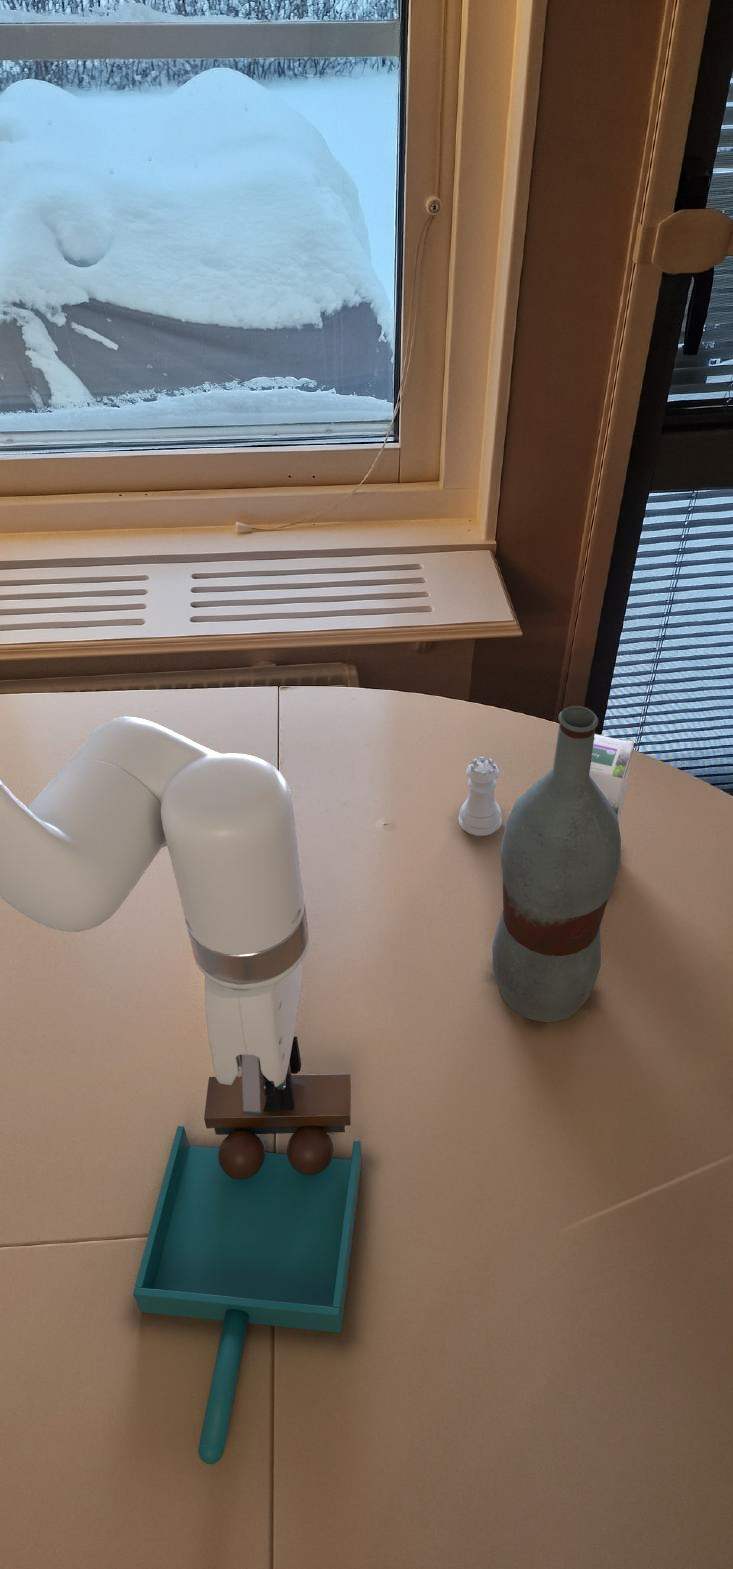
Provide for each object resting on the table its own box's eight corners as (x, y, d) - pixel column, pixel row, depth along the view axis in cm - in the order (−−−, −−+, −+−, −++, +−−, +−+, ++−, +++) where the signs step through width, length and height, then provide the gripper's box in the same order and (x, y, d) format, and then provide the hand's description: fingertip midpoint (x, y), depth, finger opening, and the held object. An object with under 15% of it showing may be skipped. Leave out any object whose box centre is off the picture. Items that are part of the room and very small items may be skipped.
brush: (208, 1138, 80) (190, 1065, 73) (213, 1097, 82) (196, 1022, 76) (351, 1136, 80) (346, 1062, 73) (351, 1094, 82) (346, 1019, 76)
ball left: (212, 1178, 76) (219, 1128, 77) (217, 1174, 79) (224, 1127, 80) (260, 1183, 76) (266, 1133, 77) (262, 1180, 79) (269, 1132, 80)
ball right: (281, 1159, 76) (292, 1114, 78) (282, 1177, 79) (292, 1133, 81) (328, 1168, 76) (337, 1123, 78) (328, 1186, 78) (336, 1141, 81)
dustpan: (183, 1145, 81) (177, 1125, 79) (361, 1161, 79) (360, 1140, 77) (103, 1458, 65) (92, 1443, 63) (323, 1484, 64) (320, 1469, 62)
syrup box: (544, 877, 101) (558, 764, 91) (559, 837, 105) (573, 725, 95) (602, 892, 99) (623, 779, 89) (615, 850, 103) (636, 738, 93)
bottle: (471, 961, 93) (488, 695, 73) (560, 930, 96) (600, 664, 76) (521, 1043, 87) (554, 775, 67) (615, 1007, 89) (674, 739, 69)
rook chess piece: (461, 806, 109) (463, 747, 103) (503, 811, 108) (508, 752, 102) (455, 835, 105) (457, 776, 100) (499, 841, 105) (503, 782, 99)
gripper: (216, 837, 72) (247, 997, 85) (160, 1031, 60) (206, 1185, 73) (322, 841, 72) (338, 1002, 84) (287, 1038, 60) (312, 1192, 72)
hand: (277, 1086), depth 78 cm, fingers closed on brush, 2 cm apart
